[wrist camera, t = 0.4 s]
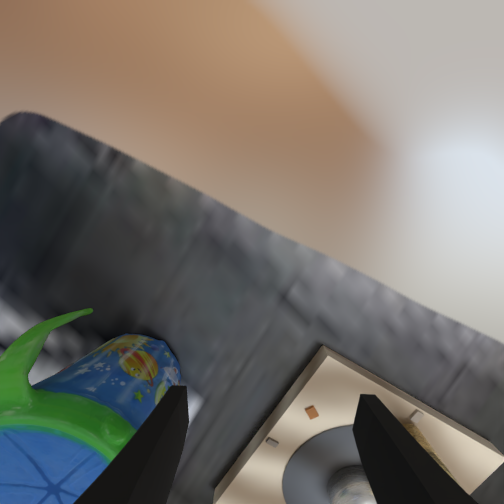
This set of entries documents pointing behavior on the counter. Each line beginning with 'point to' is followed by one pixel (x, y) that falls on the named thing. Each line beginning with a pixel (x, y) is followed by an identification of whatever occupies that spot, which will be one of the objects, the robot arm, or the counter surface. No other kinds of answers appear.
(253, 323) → the counter surface
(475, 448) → the dial housing
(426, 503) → the robot arm
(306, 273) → the counter surface
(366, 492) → the gold and silver piece
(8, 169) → the counter surface
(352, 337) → the counter surface
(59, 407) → the snack cup
